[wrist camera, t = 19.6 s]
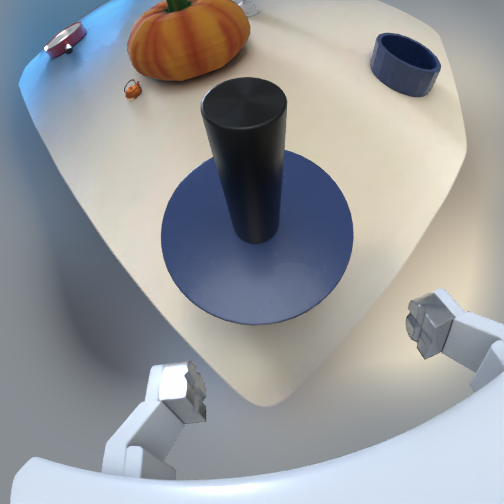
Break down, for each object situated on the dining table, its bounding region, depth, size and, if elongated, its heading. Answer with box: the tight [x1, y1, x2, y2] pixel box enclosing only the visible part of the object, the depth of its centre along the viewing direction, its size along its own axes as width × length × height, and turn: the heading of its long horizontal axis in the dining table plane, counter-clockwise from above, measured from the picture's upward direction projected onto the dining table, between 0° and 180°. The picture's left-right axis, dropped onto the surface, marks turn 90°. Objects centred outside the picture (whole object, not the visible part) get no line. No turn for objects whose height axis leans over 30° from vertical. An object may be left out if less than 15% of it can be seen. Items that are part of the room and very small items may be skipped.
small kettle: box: [124, 79, 141, 100], centre depth 34 cm, size 3×3×3 cm
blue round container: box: [371, 33, 441, 97], centre depth 29 cm, size 10×10×6 cm
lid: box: [161, 77, 353, 325], centre depth 12 cm, size 11×11×10 cm
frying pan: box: [45, 22, 86, 58], centre depth 43 cm, size 32×13×6 cm, turn 42°
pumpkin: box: [127, 0, 250, 81], centre depth 29 cm, size 19×19×15 cm
